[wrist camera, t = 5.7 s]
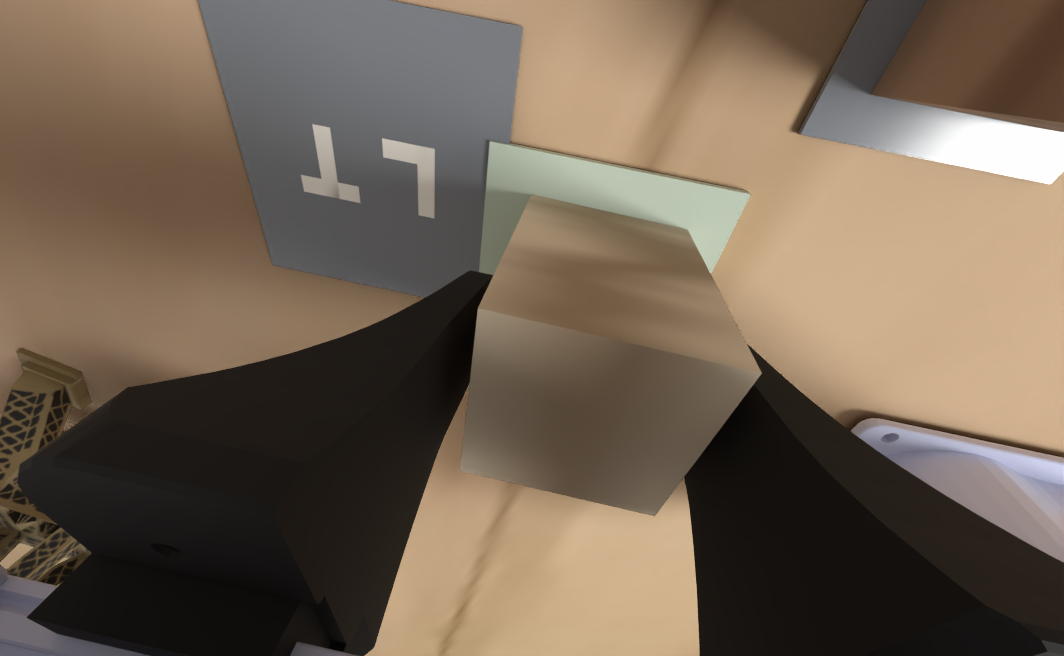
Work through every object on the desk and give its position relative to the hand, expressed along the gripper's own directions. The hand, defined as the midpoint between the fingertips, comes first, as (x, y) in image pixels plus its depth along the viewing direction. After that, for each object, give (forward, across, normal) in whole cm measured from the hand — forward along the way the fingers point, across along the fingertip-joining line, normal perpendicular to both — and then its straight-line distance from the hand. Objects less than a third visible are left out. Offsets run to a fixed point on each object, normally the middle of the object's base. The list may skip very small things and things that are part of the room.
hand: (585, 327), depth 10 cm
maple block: (+2, 0, 0) cm, 3 cm away
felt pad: (+3, 0, 0) cm, 3 cm away
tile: (+3, +7, -2) cm, 8 cm away
